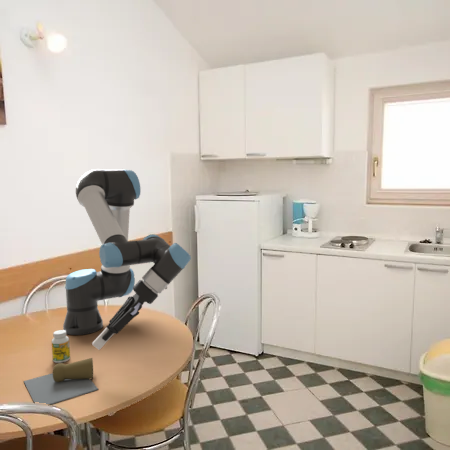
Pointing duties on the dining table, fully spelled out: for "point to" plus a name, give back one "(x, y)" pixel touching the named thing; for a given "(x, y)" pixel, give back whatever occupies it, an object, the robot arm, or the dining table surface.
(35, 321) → the dining table surface
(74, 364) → the cork
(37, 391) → the mat
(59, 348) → the supplement bottle
